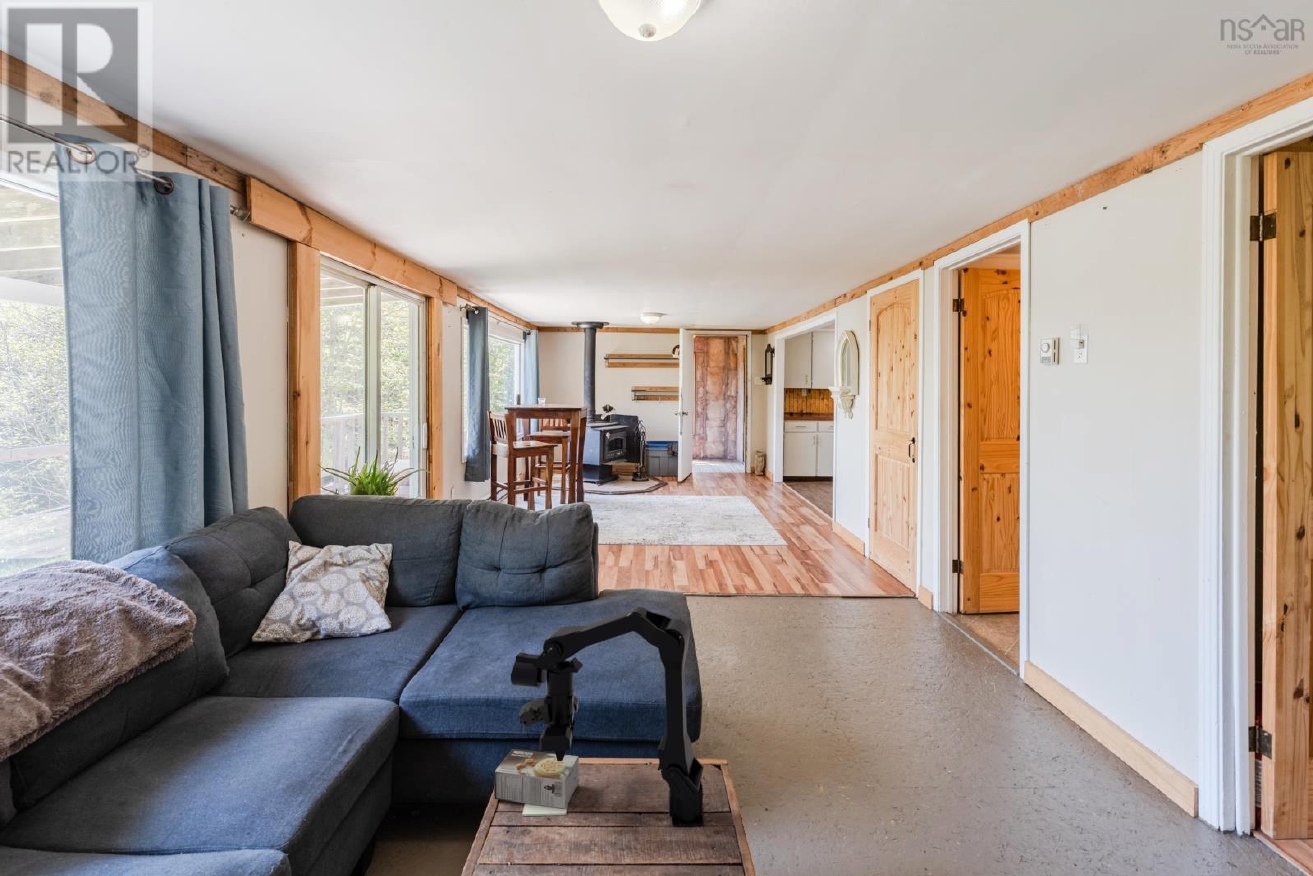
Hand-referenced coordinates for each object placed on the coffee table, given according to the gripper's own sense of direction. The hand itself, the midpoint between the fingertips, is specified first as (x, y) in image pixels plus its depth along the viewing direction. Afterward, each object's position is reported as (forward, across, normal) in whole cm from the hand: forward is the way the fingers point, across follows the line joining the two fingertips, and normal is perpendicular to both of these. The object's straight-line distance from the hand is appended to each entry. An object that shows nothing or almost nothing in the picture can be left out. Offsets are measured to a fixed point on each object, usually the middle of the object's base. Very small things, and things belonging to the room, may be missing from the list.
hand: (560, 760), depth 127 cm
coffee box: (+4, +1, +3) cm, 5 cm away
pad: (+8, 0, -2) cm, 8 cm away
